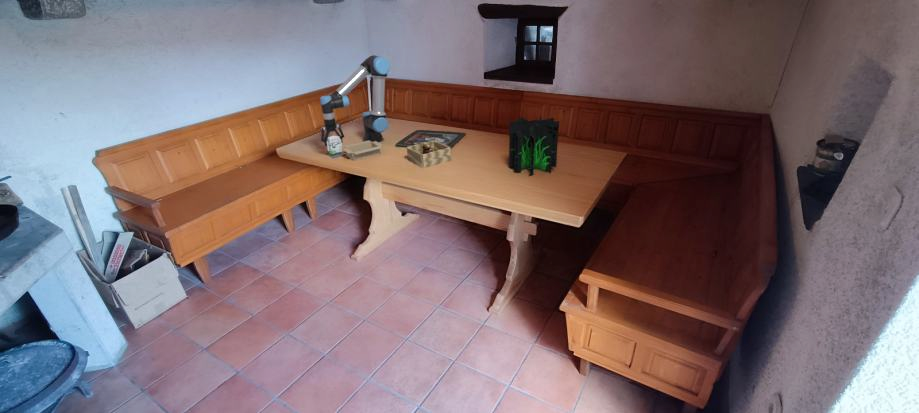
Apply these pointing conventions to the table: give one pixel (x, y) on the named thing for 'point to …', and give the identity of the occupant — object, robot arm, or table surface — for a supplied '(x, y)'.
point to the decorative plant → (533, 145)
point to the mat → (336, 155)
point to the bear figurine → (427, 149)
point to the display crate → (429, 154)
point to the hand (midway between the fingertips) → (334, 148)
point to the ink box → (334, 144)
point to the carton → (362, 150)
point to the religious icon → (431, 138)
